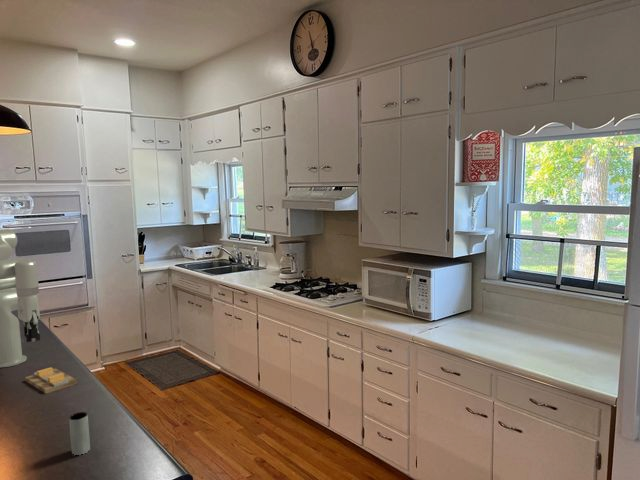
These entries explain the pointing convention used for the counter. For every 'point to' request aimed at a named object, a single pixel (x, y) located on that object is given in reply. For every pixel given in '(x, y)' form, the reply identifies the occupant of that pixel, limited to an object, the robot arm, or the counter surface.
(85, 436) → the planter
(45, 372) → the end stops
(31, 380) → the din panel
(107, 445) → the counter surface
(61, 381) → the din rail
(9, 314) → the robot arm
